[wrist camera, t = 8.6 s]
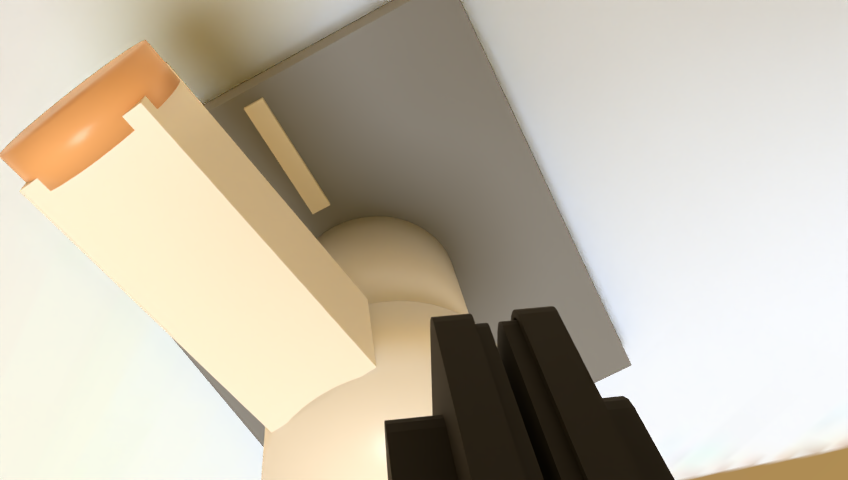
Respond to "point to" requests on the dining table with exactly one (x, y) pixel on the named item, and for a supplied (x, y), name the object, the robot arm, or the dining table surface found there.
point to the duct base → (416, 176)
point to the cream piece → (227, 268)
